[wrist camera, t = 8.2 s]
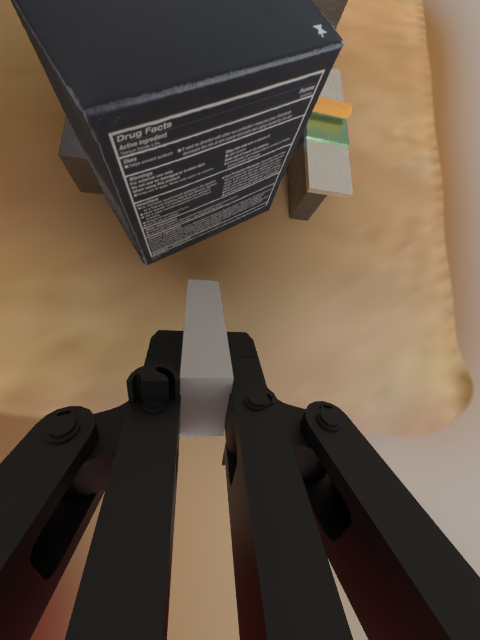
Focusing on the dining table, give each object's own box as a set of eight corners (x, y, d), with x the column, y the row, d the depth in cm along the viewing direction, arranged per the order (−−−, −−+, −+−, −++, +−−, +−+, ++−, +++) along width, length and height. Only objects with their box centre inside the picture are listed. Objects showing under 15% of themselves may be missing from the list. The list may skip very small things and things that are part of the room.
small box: (228, 144, 20) (267, -78, 10) (271, 210, 20) (356, 44, 10) (99, 190, 18) (-20, -57, 8) (145, 268, 17) (84, 118, 7)
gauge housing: (110, 0, 21) (73, -175, 14) (314, 54, 24) (362, -67, 18) (80, 191, 17) (11, 74, 11) (327, 222, 21) (393, 150, 14)
